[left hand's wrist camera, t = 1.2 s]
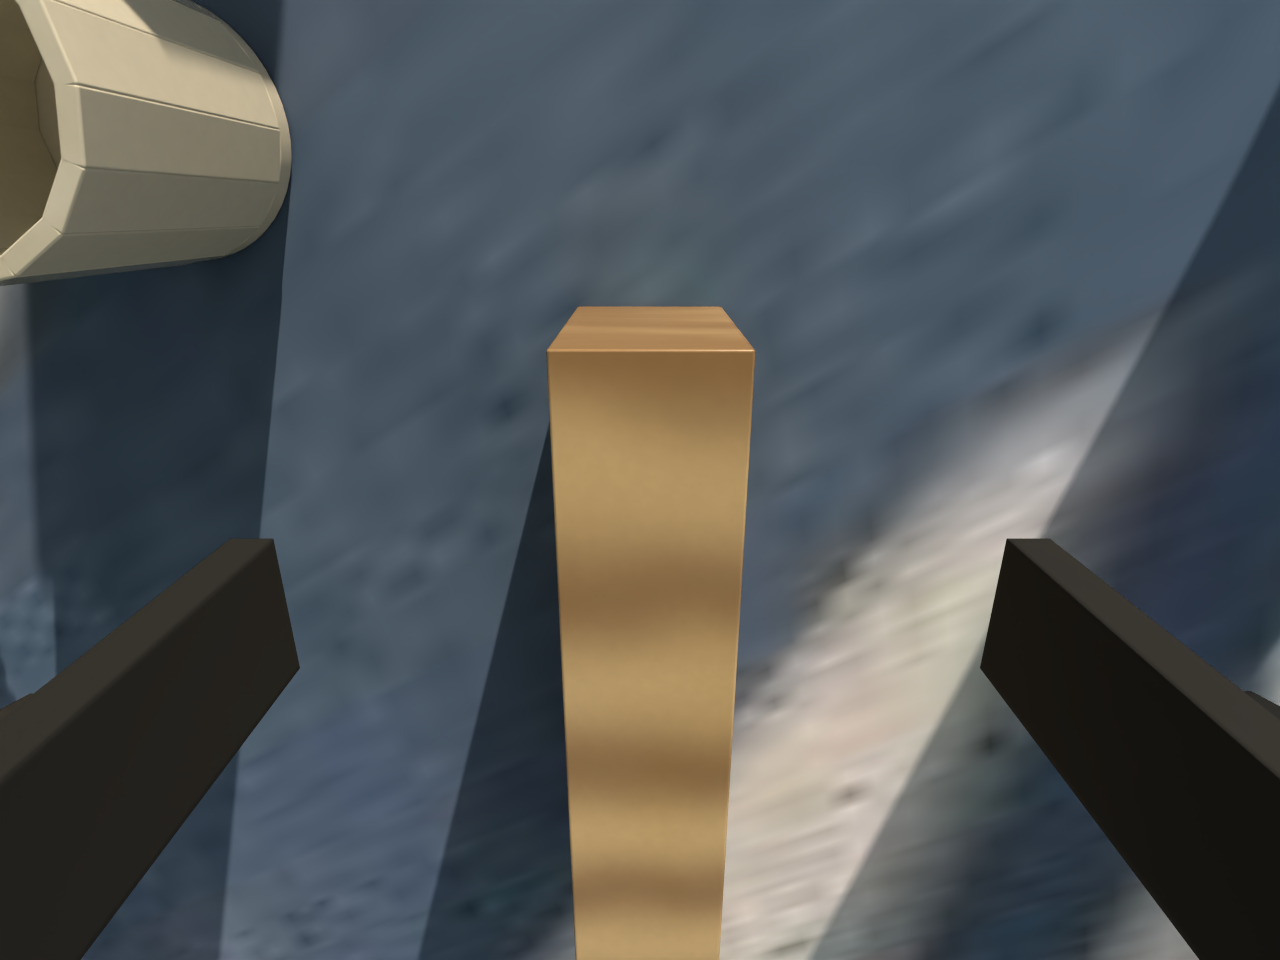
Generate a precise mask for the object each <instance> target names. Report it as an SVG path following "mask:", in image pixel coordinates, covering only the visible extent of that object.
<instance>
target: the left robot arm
mask: <svg viewBox="0 0 1280 960" xmlns="http://www.w3.org/2000/svg"><path fill="white" fill-rule="evenodd" d="M299 669H300V666H299V662H298V657H297V652H296V647H295V642H294V637H293V632H292V628H291V623H290V618H289V613H288V608H287V603H286V598H285V594H284V589H283V584H282V579H281V574H280V569H279V564H278V560H277V555H276V550H275V545H274V540H273V539H229V540H228V541H227V542H226V543H224V544H223V545H222V546H220V547H219V548H218V549H217V550H215V551H214V552H213V553H212V554H210V555H209V556H208V557H207V558H205V559H204V560H203V561H201V562H200V563H199V564H198V565H196V566H195V567H194V568H193V569H191V570H190V571H189V572H187V573H186V574H185V575H184V576H182V577H181V578H180V579H179V580H177V581H176V582H175V583H174V584H172V585H171V586H170V587H168V588H167V589H166V590H165V591H163V592H162V593H161V594H160V595H158V596H157V597H156V598H155V599H153V600H152V601H151V602H149V603H148V604H147V605H146V606H144V607H143V608H142V609H141V610H139V611H138V612H137V613H135V614H134V615H133V616H132V617H130V618H129V619H128V620H127V621H125V622H124V623H123V624H122V625H120V626H119V627H118V628H116V629H115V630H114V631H113V632H111V633H110V634H109V635H108V636H106V637H105V638H104V639H102V640H101V641H100V642H99V643H97V644H96V645H95V646H94V647H92V648H91V649H90V650H89V651H87V652H86V653H85V654H83V655H82V656H81V657H80V658H78V659H77V660H76V661H75V662H73V663H72V664H71V665H70V666H68V667H67V668H66V669H64V670H63V671H62V672H61V673H59V674H58V675H57V676H56V677H54V678H53V679H52V680H50V681H49V682H48V683H47V684H45V685H44V686H43V687H42V688H40V689H39V690H38V691H37V692H35V693H34V694H29V695H27V696H25V697H23V698H21V699H19V700H17V701H15V702H13V703H12V704H10V705H8V706H6V707H4V708H2V709H0V960H81V958H82V957H83V956H84V954H85V953H86V952H87V950H88V949H89V948H90V946H91V945H92V944H93V942H94V941H95V940H96V938H97V937H98V936H99V934H100V933H101V932H102V930H103V929H104V928H105V926H106V925H107V924H108V922H109V921H110V920H111V918H112V917H113V916H114V914H115V913H116V912H117V910H118V909H119V908H120V906H121V905H122V904H123V903H124V901H125V900H126V899H127V897H128V896H129V895H130V893H131V892H132V891H133V889H134V888H135V887H136V885H137V884H138V883H139V881H140V880H141V879H142V877H143V876H144V875H145V873H146V872H147V871H148V869H149V868H150V867H151V865H152V864H153V863H154V861H155V860H156V859H157V857H158V856H159V855H160V853H161V852H162V851H163V849H164V848H165V847H166V845H167V844H168V843H169V841H170V840H171V839H172V837H173V836H174V835H175V833H176V832H177V831H178V829H179V828H180V827H181V825H182V824H183V823H184V821H185V820H186V819H187V817H188V816H189V815H190V813H191V812H192V811H193V809H194V808H195V807H196V805H197V804H198V803H199V801H200V800H201V799H202V797H203V796H204V795H205V793H206V792H207V791H208V789H209V788H210V787H211V786H212V784H213V783H214V782H215V780H216V779H217V778H218V776H219V775H220V774H221V772H222V771H223V770H224V768H225V767H226V766H227V764H228V763H229V762H230V760H231V759H232V758H233V756H234V755H235V754H236V752H237V751H238V750H239V748H240V747H241V746H242V744H243V743H244V742H245V740H246V739H247V738H248V736H249V735H250V734H251V732H252V731H253V730H254V728H255V727H256V726H257V724H258V723H259V722H260V720H261V719H262V718H263V716H264V715H265V714H266V712H267V711H268V710H269V708H270V707H271V706H272V704H273V703H274V702H275V700H276V699H277V698H278V696H279V695H280V694H281V692H282V691H283V690H284V688H285V687H286V686H287V684H288V683H289V682H290V680H291V679H292V678H293V676H294V675H295V674H296V672H297V671H298V670H299ZM980 669H981V670H982V671H983V673H984V674H985V675H986V676H987V678H988V679H989V680H990V682H991V683H992V684H993V686H994V687H995V688H996V690H997V691H998V692H999V694H1000V695H1001V696H1002V698H1003V699H1004V700H1005V702H1006V703H1007V704H1008V706H1009V707H1010V708H1011V710H1012V711H1013V712H1014V714H1015V715H1016V716H1017V718H1018V719H1019V720H1020V722H1021V723H1022V724H1023V726H1024V727H1025V728H1026V730H1027V731H1028V732H1029V734H1030V735H1031V736H1032V738H1033V739H1034V740H1035V742H1036V743H1037V744H1038V746H1039V747H1040V748H1041V750H1042V751H1043V752H1044V754H1045V755H1046V756H1047V758H1048V759H1049V760H1050V762H1051V763H1052V764H1053V766H1054V767H1055V768H1056V770H1057V771H1058V772H1059V774H1060V775H1061V776H1062V778H1063V779H1064V780H1065V782H1066V783H1067V784H1068V786H1069V787H1070V788H1071V790H1072V791H1073V792H1074V793H1075V795H1076V796H1077V797H1078V799H1079V800H1080V801H1081V803H1082V804H1083V805H1084V807H1085V808H1086V809H1087V811H1088V812H1089V813H1090V815H1091V816H1092V817H1093V819H1094V820H1095V821H1096V823H1097V824H1098V825H1099V827H1100V828H1101V829H1102V831H1103V832H1104V833H1105V835H1106V836H1107V837H1108V839H1109V840H1110V841H1111V843H1112V844H1113V845H1114V847H1115V848H1116V849H1117V851H1118V852H1119V853H1120V855H1121V856H1122V857H1123V859H1124V860H1125V861H1126V863H1127V864H1128V865H1129V867H1130V868H1131V869H1132V871H1133V872H1134V873H1135V875H1136V876H1137V877H1138V879H1139V880H1140V881H1141V883H1142V884H1143V885H1144V887H1145V888H1146V889H1147V891H1148V892H1149V893H1150V895H1151V896H1152V897H1153V899H1154V900H1155V901H1156V903H1157V904H1158V905H1159V907H1160V908H1161V909H1162V910H1163V912H1164V913H1165V914H1166V916H1167V917H1168V918H1169V920H1170V921H1171V922H1172V924H1173V925H1174V926H1175V928H1176V929H1177V930H1178V932H1179V933H1180V934H1181V936H1182V937H1183V938H1184V940H1185V941H1186V942H1187V944H1188V945H1189V946H1190V948H1191V949H1192V950H1193V952H1194V953H1195V954H1196V956H1197V957H1198V958H1199V960H1280V706H1278V705H1276V704H1274V703H1272V702H1270V701H1268V700H1267V699H1265V698H1263V697H1261V696H1259V695H1257V694H1255V693H1253V692H1251V691H1242V690H1241V689H1240V688H1238V687H1237V686H1236V685H1235V684H1233V683H1232V682H1231V681H1230V680H1228V679H1227V678H1226V677H1224V676H1223V675H1222V674H1221V673H1219V672H1218V671H1217V670H1216V669H1214V668H1213V667H1212V666H1210V665H1209V664H1208V663H1207V662H1205V661H1204V660H1203V659H1202V658H1200V657H1199V656H1198V655H1197V654H1195V653H1194V652H1193V651H1191V650H1190V649H1189V648H1188V647H1186V646H1185V645H1184V644H1183V643H1181V642H1180V641H1179V640H1178V639H1176V638H1175V637H1174V636H1172V635H1171V634H1170V633H1169V632H1167V631H1166V630H1165V629H1164V628H1162V627H1161V626H1160V625H1158V624H1157V623H1156V622H1155V621H1153V620H1152V619H1151V618H1150V617H1148V616H1147V615H1146V614H1145V613H1143V612H1142V611H1141V610H1139V609H1138V608H1137V607H1136V606H1134V605H1133V604H1132V603H1131V602H1129V601H1128V600H1127V599H1125V598H1124V597H1123V596H1122V595H1120V594H1119V593H1118V592H1117V591H1115V590H1114V589H1113V588H1112V587H1110V586H1109V585H1108V584H1106V583H1105V582H1104V581H1103V580H1101V579H1100V578H1099V577H1098V576H1096V575H1095V574H1094V573H1093V572H1091V571H1090V570H1089V569H1087V568H1086V567H1085V566H1084V565H1082V564H1081V563H1080V562H1079V561H1077V560H1076V559H1075V558H1073V557H1072V556H1071V555H1070V554H1068V553H1067V552H1066V551H1065V550H1063V549H1062V548H1061V547H1060V546H1058V545H1057V544H1056V543H1054V542H1053V541H1052V540H1051V539H1007V540H1006V545H1005V550H1004V555H1003V560H1002V564H1001V569H1000V574H999V579H998V584H997V589H996V594H995V598H994V603H993V608H992V613H991V618H990V623H989V628H988V632H987V637H986V642H985V647H984V652H983V657H982V662H981V666H980Z"/></svg>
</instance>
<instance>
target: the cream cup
mask: <svg viewBox="0 0 1280 960" xmlns="http://www.w3.org/2000/svg"><path fill="white" fill-rule="evenodd" d="M291 159H292V158H291V140H290V134H289V128H288V123H287V119H286V116H285V112H284V108H283V105H282V103H281V100H280V98H279V95H278V93H277V90H276V88H275V86H274V84H273V82H272V80H271V78H270V76H269V75H268V73H267V71H266V69H265V68H264V66H263V65H262V63H261V62H260V60H259V59H258V57H257V56H256V54H255V53H254V52H253V51H252V49H251V48H250V47H249V46H248V45H247V44H246V42H245V41H244V40H243V39H242V38H241V37H240V36H239V35H238V34H237V33H236V32H235V31H234V30H233V29H232V28H231V27H230V26H229V25H228V24H226V23H225V22H224V21H223V20H221V19H220V18H219V17H217V16H216V15H215V14H213V13H212V12H210V11H209V10H207V9H205V8H204V7H202V6H200V5H199V4H197V3H195V2H193V1H191V0H0V286H6V285H15V284H23V283H32V282H40V281H49V280H58V279H66V278H75V277H83V276H92V275H101V274H109V273H118V272H126V271H135V270H144V269H152V268H161V267H170V266H178V265H185V264H190V263H194V262H199V261H206V260H213V259H219V258H222V257H225V256H229V255H232V254H234V253H236V252H238V251H240V250H242V249H244V248H246V247H247V246H248V245H250V244H251V243H253V242H254V241H256V240H257V239H258V238H259V237H260V236H261V235H262V234H263V233H264V232H265V231H266V230H267V228H268V227H269V226H270V224H271V223H272V222H273V220H274V219H275V217H276V215H277V213H278V212H279V210H280V208H281V206H282V203H283V201H284V198H285V195H286V192H287V188H288V184H289V179H290V172H291Z"/></svg>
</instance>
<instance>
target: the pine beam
mask: <svg viewBox="0 0 1280 960" xmlns="http://www.w3.org/2000/svg"><path fill="white" fill-rule="evenodd" d="M546 354H547V375H548V395H549V416H550V437H551V457H552V478H553V499H554V519H555V540H556V561H557V582H558V602H559V623H560V644H561V664H562V685H563V706H564V726H565V747H566V768H567V788H568V809H569V830H570V850H571V871H572V892H573V912H574V933H575V954H576V960H719V953H720V937H721V920H722V903H723V886H724V869H725V853H726V836H727V819H728V802H729V786H730V769H731V752H732V735H733V718H734V702H735V685H736V668H737V651H738V635H739V618H740V601H741V584H742V567H743V551H744V534H745V517H746V500H747V484H748V467H749V450H750V433H751V416H752V400H753V383H754V366H755V350H754V349H753V347H752V346H751V345H750V343H749V342H748V341H747V340H746V338H745V337H744V336H743V334H742V333H741V332H740V331H739V329H738V328H737V327H736V325H735V324H734V323H733V322H732V320H731V319H730V318H729V316H728V315H727V314H726V313H725V311H724V310H723V309H722V307H577V309H576V310H575V312H574V313H573V314H572V316H571V317H570V319H569V320H568V321H567V323H566V324H565V326H564V327H563V328H562V330H561V331H560V332H559V334H558V335H557V337H556V338H555V339H554V341H553V342H552V344H551V345H550V346H549V348H548V349H547V352H546Z"/></svg>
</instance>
